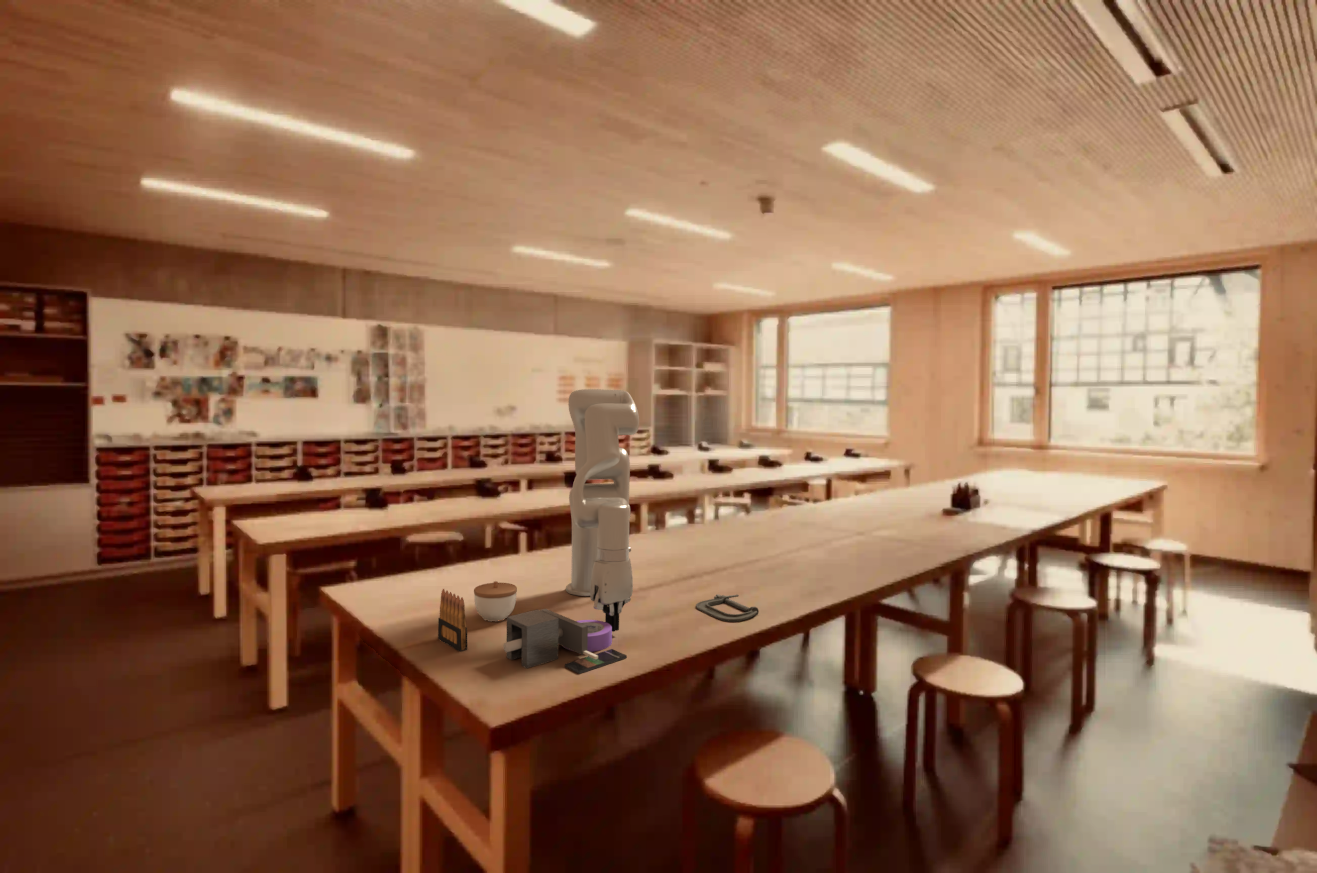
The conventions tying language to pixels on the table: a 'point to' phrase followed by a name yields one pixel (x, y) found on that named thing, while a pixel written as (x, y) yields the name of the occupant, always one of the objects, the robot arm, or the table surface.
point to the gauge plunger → (563, 636)
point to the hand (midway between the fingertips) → (612, 629)
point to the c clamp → (718, 599)
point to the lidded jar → (495, 600)
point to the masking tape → (597, 635)
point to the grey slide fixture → (547, 643)
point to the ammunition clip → (452, 621)
